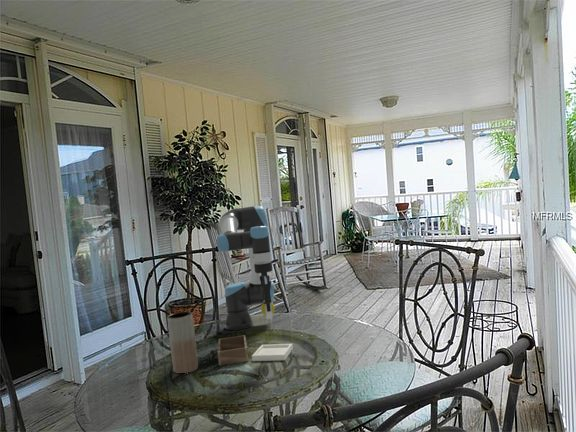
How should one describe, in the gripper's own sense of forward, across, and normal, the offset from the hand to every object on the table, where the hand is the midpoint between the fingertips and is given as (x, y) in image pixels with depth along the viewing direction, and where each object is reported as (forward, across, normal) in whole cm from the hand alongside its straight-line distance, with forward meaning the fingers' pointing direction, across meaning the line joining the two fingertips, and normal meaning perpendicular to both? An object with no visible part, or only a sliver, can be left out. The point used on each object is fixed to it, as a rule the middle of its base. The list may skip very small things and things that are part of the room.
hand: (268, 317), depth 186 cm
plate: (+16, 0, 0) cm, 16 cm away
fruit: (+1, 0, 0) cm, 1 cm away
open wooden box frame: (+16, -7, -17) cm, 24 cm away
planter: (+16, +2, -36) cm, 40 cm away
